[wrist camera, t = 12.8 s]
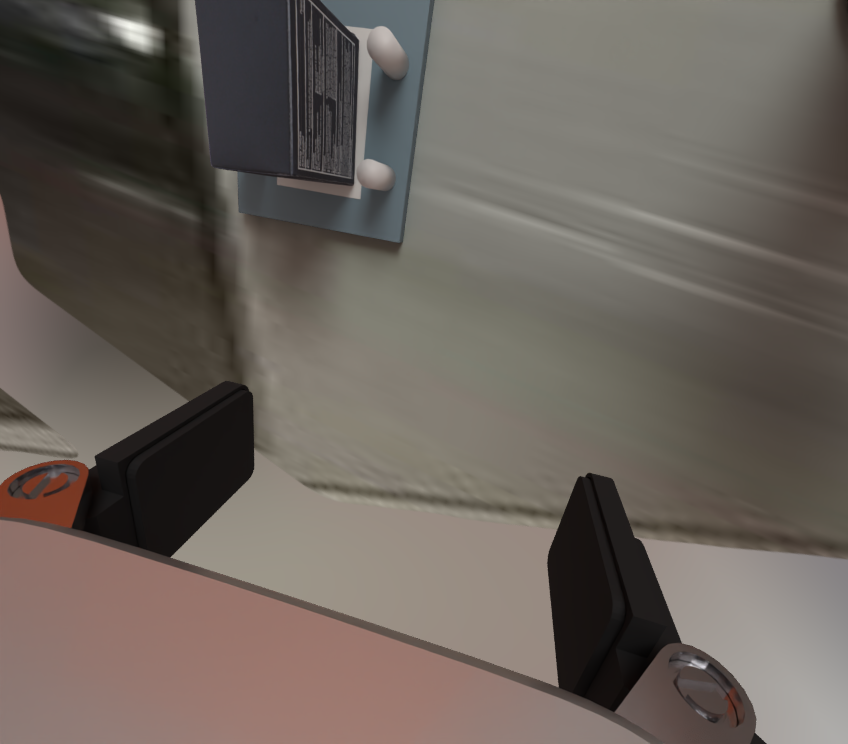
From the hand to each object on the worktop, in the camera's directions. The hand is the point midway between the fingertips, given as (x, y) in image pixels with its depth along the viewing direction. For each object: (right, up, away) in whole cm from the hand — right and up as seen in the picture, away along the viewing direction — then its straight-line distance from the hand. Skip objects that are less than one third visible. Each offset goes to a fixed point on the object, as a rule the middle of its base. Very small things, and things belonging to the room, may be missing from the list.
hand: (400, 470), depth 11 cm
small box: (-8, +24, +22) cm, 34 cm away
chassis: (-8, +25, +23) cm, 35 cm away
